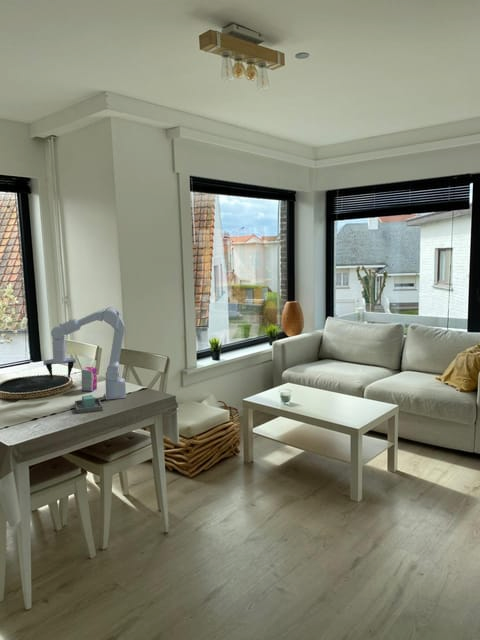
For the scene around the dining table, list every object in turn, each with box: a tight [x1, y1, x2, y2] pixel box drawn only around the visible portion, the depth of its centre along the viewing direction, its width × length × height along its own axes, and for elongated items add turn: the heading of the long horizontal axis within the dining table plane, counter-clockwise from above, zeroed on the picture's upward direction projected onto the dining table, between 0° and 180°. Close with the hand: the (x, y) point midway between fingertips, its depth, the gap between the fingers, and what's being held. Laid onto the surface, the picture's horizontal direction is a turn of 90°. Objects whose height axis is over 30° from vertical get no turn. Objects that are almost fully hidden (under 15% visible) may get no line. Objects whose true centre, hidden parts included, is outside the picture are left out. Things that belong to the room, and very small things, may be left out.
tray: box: [74, 397, 104, 414], centre depth 225 cm, size 11×11×2 cm
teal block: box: [81, 394, 96, 408], centre depth 224 cm, size 4×4×4 cm
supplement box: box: [81, 366, 98, 393], centre depth 248 cm, size 6×6×12 cm
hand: (60, 378), depth 234 cm, fingers open, 7 cm apart
